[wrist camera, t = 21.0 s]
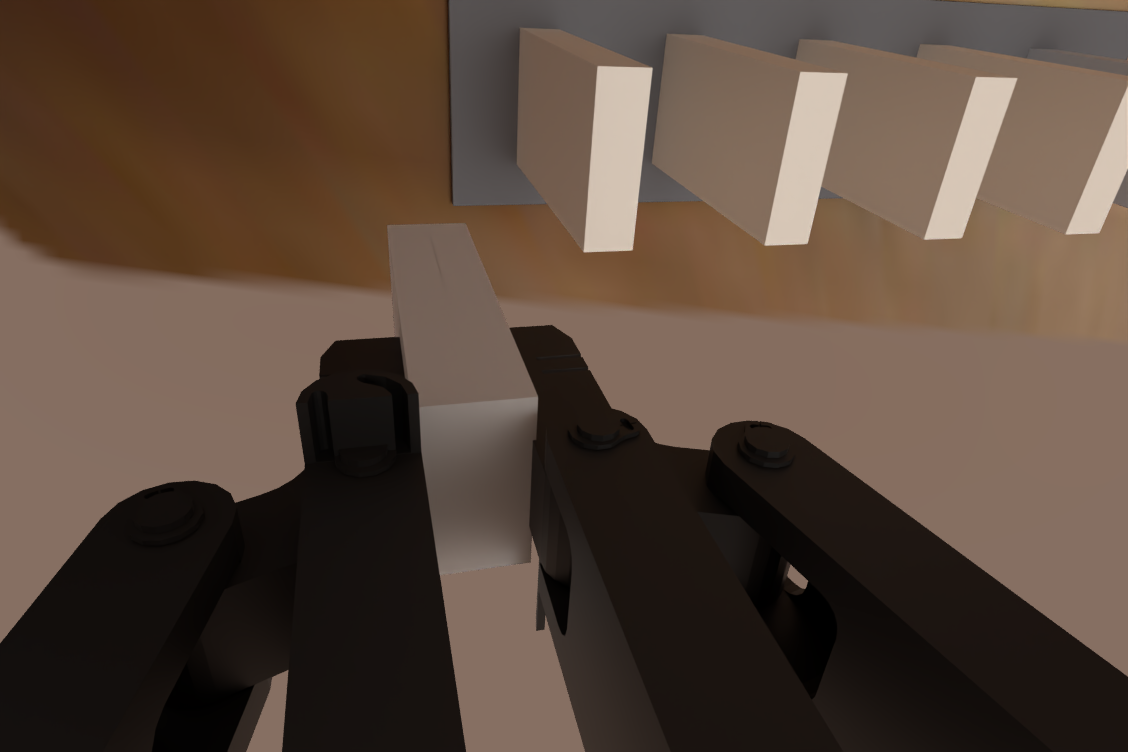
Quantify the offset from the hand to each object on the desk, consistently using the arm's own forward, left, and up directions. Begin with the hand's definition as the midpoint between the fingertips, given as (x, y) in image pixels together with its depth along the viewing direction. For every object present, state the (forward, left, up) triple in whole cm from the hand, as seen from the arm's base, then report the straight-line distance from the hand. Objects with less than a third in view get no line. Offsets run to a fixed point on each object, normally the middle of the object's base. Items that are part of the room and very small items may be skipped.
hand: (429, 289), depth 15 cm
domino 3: (+21, 0, -21) cm, 30 cm away
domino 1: (+7, 0, -21) cm, 22 cm away
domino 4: (+28, 0, -21) cm, 35 cm away
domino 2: (+14, 0, -21) cm, 25 cm away
